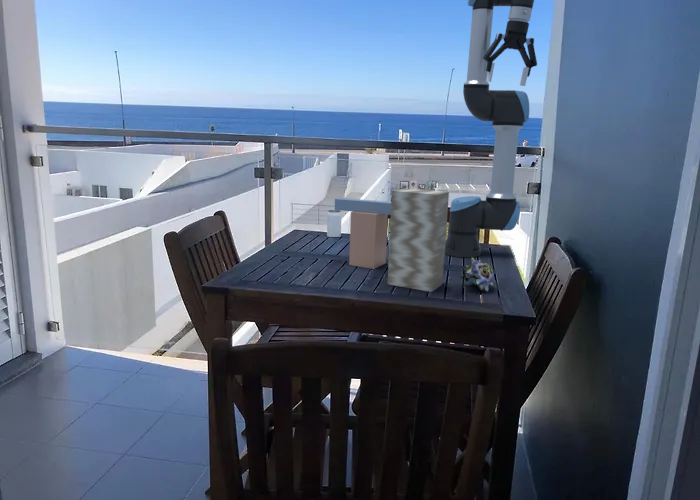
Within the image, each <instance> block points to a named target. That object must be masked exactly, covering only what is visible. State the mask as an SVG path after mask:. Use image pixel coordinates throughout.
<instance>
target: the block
mask: <svg viewBox="0 0 700 500" xmlns="http://www.w3.org/2000/svg"><path fill="white" fill-rule="evenodd" d="M388 216H389V215H387V214H376V213H364V212H353V211H350V226H349V227H350V231H349V257H348V258H349V260H348V266H354V267H359V268H365V269H373V270H374V269H377V268H379V267H382V266H384V265H385V264H386V258H387V242H388V241H387V238H388V221H389V220H388Z"/></svg>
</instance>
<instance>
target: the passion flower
mask: <svg viewBox="0 0 700 500" xmlns="http://www.w3.org/2000/svg"><path fill="white" fill-rule="evenodd" d="M470 258H471V265H467V264H466V265H464V267H463V268H462V272H463V274H462V275H461V276H460V277H459V279H460V280H462V279H464V280H463V281H464V282H463V286H464V287H465V285H466V282H468V281H470V279H473V284H474V285H475V286H477V288H478V289H479V290H480V291H484V292H487V293H488V292H489V286H491V287H493V286H494V283H493V280H494V278H495V277H494V271H493V269H492V264H491V263H487V262H482V261H481V259H479V260H478V259H477V260H475V257H470ZM469 266H470V267H469Z"/></svg>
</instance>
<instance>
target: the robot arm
mask: <svg viewBox="0 0 700 500" xmlns="http://www.w3.org/2000/svg"><path fill="white" fill-rule="evenodd" d="M534 3H535V0H467V6H468V7H472V13H471V24H470V26H471V27H470V36H469V37H470V39H469V47H468V48H469V49H468V50H469V51H468V61H467V74H466V81H465V82H464V83H463V92H462V93H463V99H464V102H465V105H466V107H467V109H468V111H469V112H470V114H471V115H472V116H473V117H474V118H476V119H477V120H479V121H482V122H492V123H491V127H492V128H493V129H494V130H495V137H494V146H493V147H494V149H493V160H492V168H491V169H492V170H491V182H490V192H489V193H488V194H487V195H485V200H482V197H480V196H473V195H471V196H470V195H467V196H461V197H456V198H454V199H452V200H451V202H450V209H449V212H450V213H449V222H448V223H449V224H448V235H447V236H446V241H445V255H447V256H449V257H456V258H477V257H480V256H481V253H482V252H481V251H482V249H481V245H480V241H479V237H478V236H479V235H478V234H479V230H488V231H489V230H491V231H494V230H495V231H501V232H503V231H512V230H513V229H514V228H515V227H516V225H517V223H518V221H519V218H520V211H521V203H520V202H519V201H517V196H515V194H514V192H513V191H514V186H515V185H514V184H515V183H514V181H515V174H516V173H515V171H516V163H517V153H518V140H519V131H520V130H522V128H524V124H525V123H528V121H529V119H530V118H529V117H530V101H529V96H528V94H527V93H526V91H523V90H515V89H513V90H511V89H510V90H502V89H501V90H500V89H499V90H496V89H494V90H493V89H490V83H491V82H492V79H493V75H494V74H493V73H494V69H495V62H494V61H495V60H496V59H498V57H499V56H500V55H501V54H503V52H505V50H509V49H510V50H515V51H518V52H519V55H520V56H521V58H522V61H523V63H524V65H525V66H524V67H523V69H522V74H521V79H520V83H519V86H521V87H526V84H527V80H528V77H530V74H531V70H532V68H533V67H537V66H538V60H537V56H536V52H535V47H534V46H535V45H534V44H535V38H533V37H528V38H527V35H528V31H529V27H530V23H529V22H530V21H531V17H532V13H533V7H534ZM494 7H510V8H509V12H508V17H507V18H508V21H507V22H506V28H505V33H504V34H503V33H500V32H499V33H496V35H495V39H494V41H493V42H492V43H491V39H492V27H493V17H494ZM502 41H504V42H503V43H502V44H501V46H500V47H498V46H499V44H500V43H501V42H502ZM525 44H526V46H527V47H525ZM497 47H498V49H497ZM526 48H527V49H526ZM496 49H497V50H496ZM495 50H496V51H495ZM526 50H527V51H526ZM494 51H495V52H494ZM527 52H528V53H527ZM489 82H490V83H489Z"/></svg>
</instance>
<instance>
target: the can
mask: <svg viewBox="0 0 700 500" xmlns="http://www.w3.org/2000/svg"><path fill="white" fill-rule="evenodd" d="M326 215H327V216H326V236H327V237H328V238H330V237H339V238H341V236H342V212H341V210H335V209H329V210H328V212H327V213H326Z"/></svg>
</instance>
